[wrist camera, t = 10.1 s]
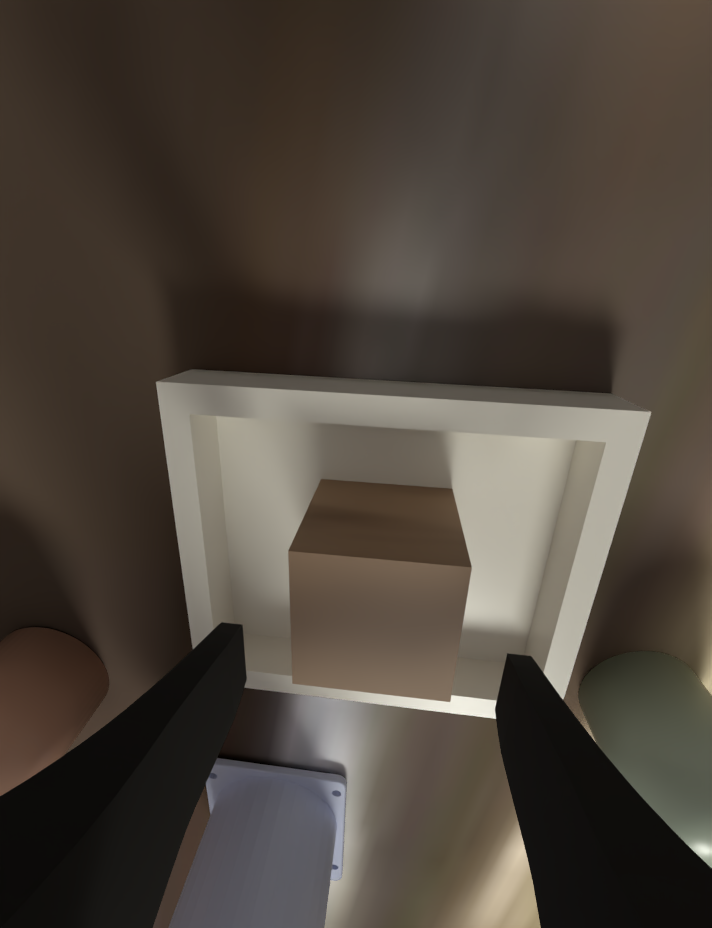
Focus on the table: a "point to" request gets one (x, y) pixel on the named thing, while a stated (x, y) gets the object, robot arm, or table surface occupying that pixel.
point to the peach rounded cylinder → (44, 699)
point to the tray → (402, 463)
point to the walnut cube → (378, 589)
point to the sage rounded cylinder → (657, 736)
